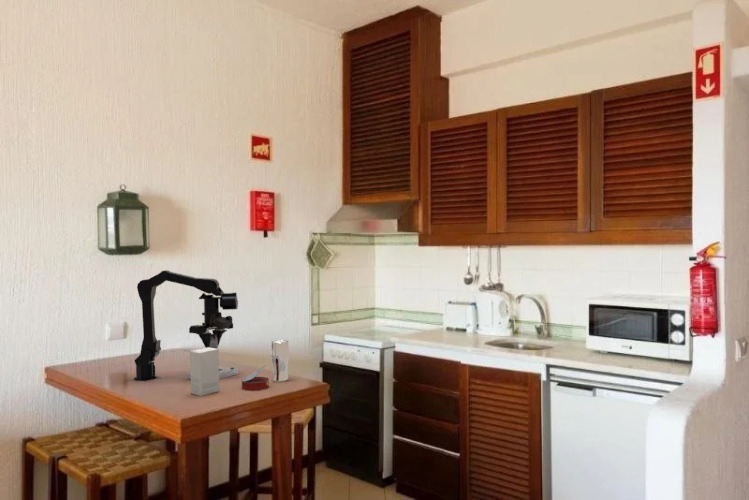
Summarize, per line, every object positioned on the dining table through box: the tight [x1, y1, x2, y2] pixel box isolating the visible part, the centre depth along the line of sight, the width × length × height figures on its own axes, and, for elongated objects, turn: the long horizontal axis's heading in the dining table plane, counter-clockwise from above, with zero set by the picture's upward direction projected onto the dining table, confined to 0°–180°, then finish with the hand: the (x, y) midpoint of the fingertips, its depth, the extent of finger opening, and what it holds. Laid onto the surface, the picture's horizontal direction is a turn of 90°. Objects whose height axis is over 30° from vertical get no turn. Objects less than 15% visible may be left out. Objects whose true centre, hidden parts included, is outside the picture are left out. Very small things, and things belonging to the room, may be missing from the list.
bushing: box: [209, 333, 219, 349], centre depth 241 cm, size 4×4×7 cm
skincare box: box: [189, 347, 220, 397], centre depth 213 cm, size 8×7×16 cm
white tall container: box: [270, 339, 290, 383], centre depth 232 cm, size 7×7×15 cm
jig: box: [186, 365, 239, 380], centre depth 241 cm, size 16×12×3 cm
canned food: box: [241, 364, 270, 391], centre depth 220 cm, size 11×10×10 cm
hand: (212, 348), depth 241 cm, fingers closed on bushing, 4 cm apart
